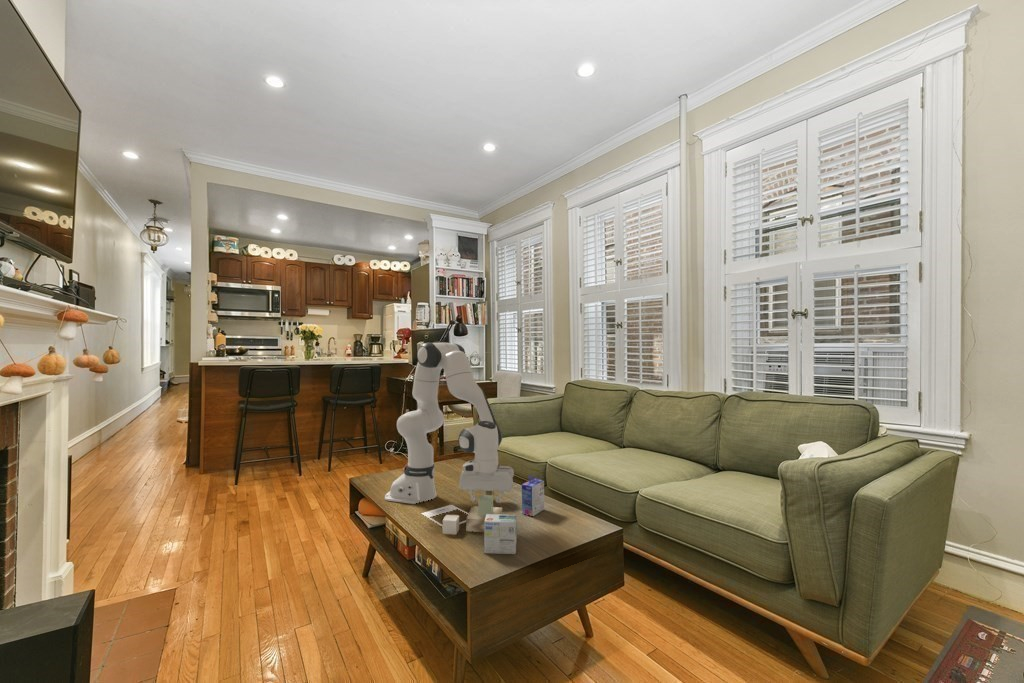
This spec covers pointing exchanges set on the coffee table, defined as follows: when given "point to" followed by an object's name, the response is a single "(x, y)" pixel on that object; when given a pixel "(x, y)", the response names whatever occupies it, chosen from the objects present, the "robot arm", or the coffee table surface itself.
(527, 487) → the ink cartridge box
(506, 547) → the light bulb box
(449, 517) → the off-white block
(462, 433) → the robot arm
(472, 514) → the birch block
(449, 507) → the photo frame
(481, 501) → the sage block
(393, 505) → the coffee table surface
